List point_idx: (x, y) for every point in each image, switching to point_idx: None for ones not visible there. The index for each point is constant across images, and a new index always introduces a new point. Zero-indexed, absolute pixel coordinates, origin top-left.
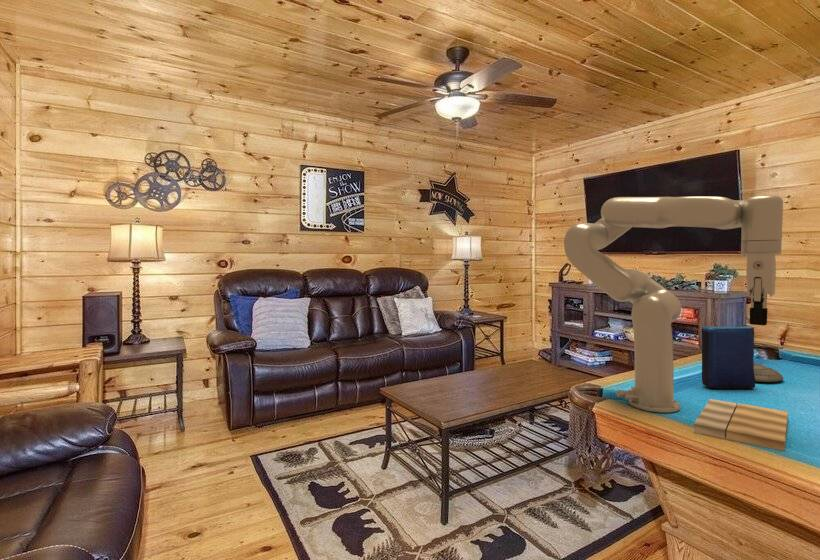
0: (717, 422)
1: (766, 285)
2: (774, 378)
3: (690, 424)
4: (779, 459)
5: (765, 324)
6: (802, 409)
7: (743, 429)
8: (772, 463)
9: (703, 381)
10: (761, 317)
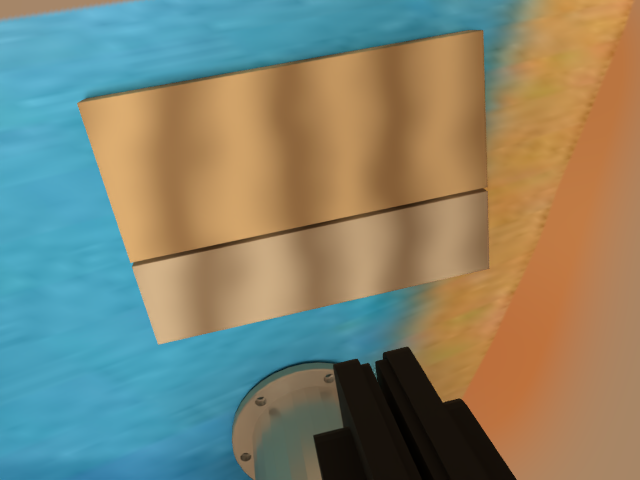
0: (427, 230)
1: None
2: None
3: (412, 289)
4: (550, 26)
5: (410, 353)
6: None
7: (444, 154)
8: (592, 33)
9: None
10: (481, 430)
